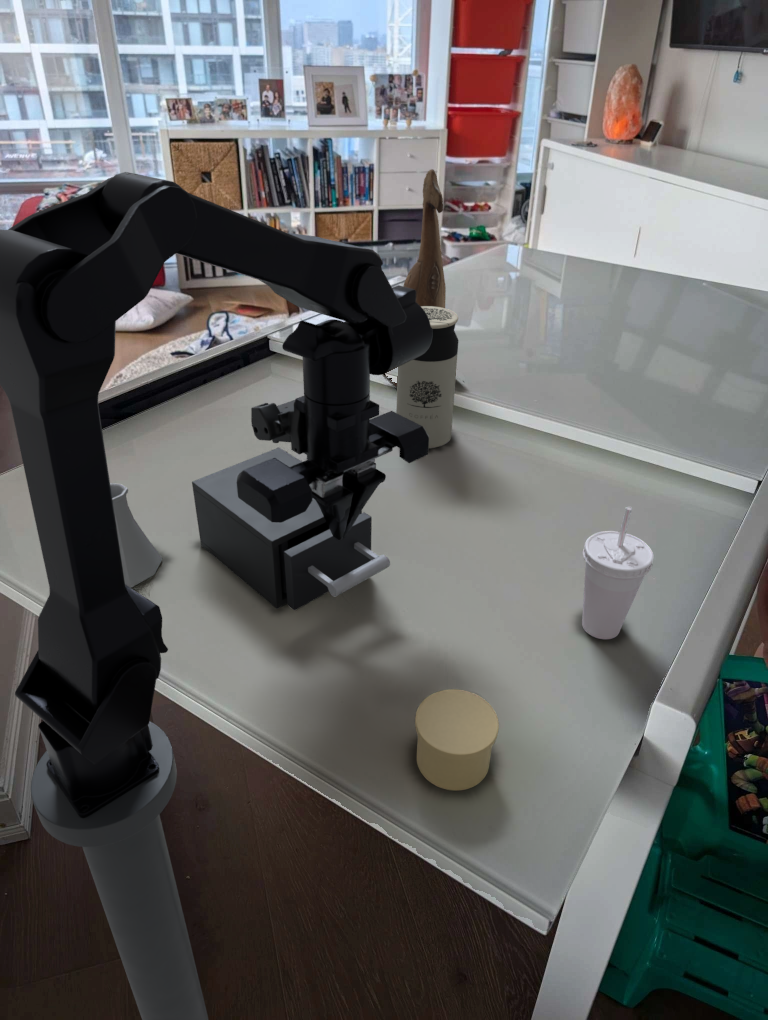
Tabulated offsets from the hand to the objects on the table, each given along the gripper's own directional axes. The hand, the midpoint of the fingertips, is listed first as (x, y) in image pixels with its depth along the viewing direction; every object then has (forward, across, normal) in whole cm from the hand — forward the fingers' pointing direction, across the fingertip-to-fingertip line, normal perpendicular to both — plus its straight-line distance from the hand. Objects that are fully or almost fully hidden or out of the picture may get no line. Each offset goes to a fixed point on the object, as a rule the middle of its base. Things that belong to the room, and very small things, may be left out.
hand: (339, 537), depth 74 cm
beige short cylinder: (+8, +6, +22) cm, 24 cm away
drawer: (+7, 0, -5) cm, 9 cm away
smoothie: (+8, -17, +20) cm, 28 cm away
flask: (+8, +14, -20) cm, 25 cm away
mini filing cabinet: (+8, 0, -10) cm, 13 cm away
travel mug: (+8, -32, -20) cm, 38 cm away
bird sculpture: (+8, -46, -34) cm, 58 cm away
